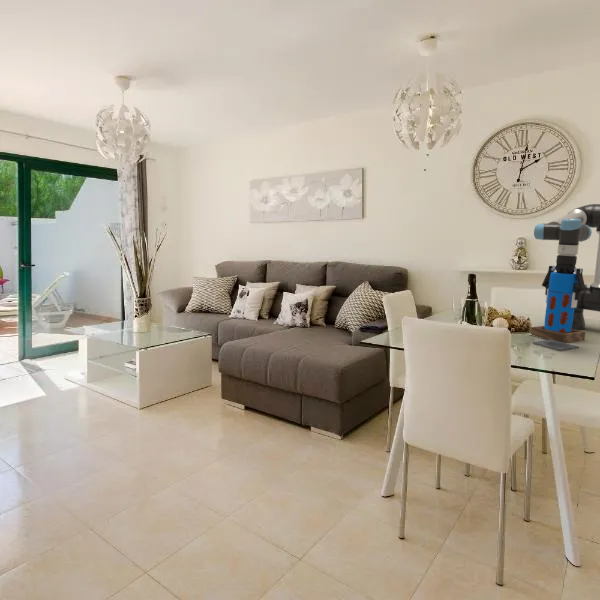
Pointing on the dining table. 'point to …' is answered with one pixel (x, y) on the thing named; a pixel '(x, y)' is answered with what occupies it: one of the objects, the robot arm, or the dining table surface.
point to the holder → (558, 334)
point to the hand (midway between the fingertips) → (560, 305)
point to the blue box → (560, 302)
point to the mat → (556, 345)
